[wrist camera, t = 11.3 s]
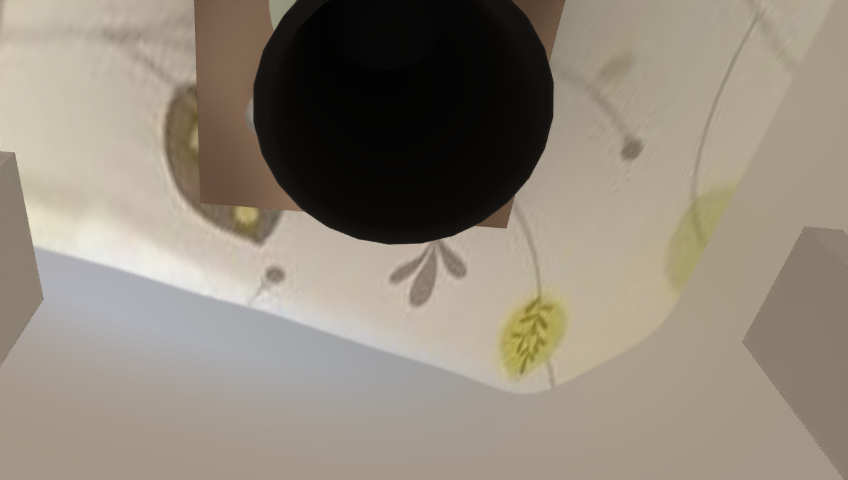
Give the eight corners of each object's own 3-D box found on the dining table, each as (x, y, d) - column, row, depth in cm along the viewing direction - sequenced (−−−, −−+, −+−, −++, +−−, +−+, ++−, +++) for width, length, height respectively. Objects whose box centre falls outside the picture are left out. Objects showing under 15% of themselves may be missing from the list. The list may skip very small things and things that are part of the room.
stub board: (616, -253, 24) (659, -265, 21) (500, 213, 35) (516, 255, 31) (193, -343, 22) (164, -373, 18) (206, 187, 32) (189, 230, 29)
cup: (499, 60, 28) (582, 193, 18) (337, 122, 29) (329, 281, 19) (443, -131, 24) (510, -96, 14) (256, -53, 25) (192, 31, 15)
